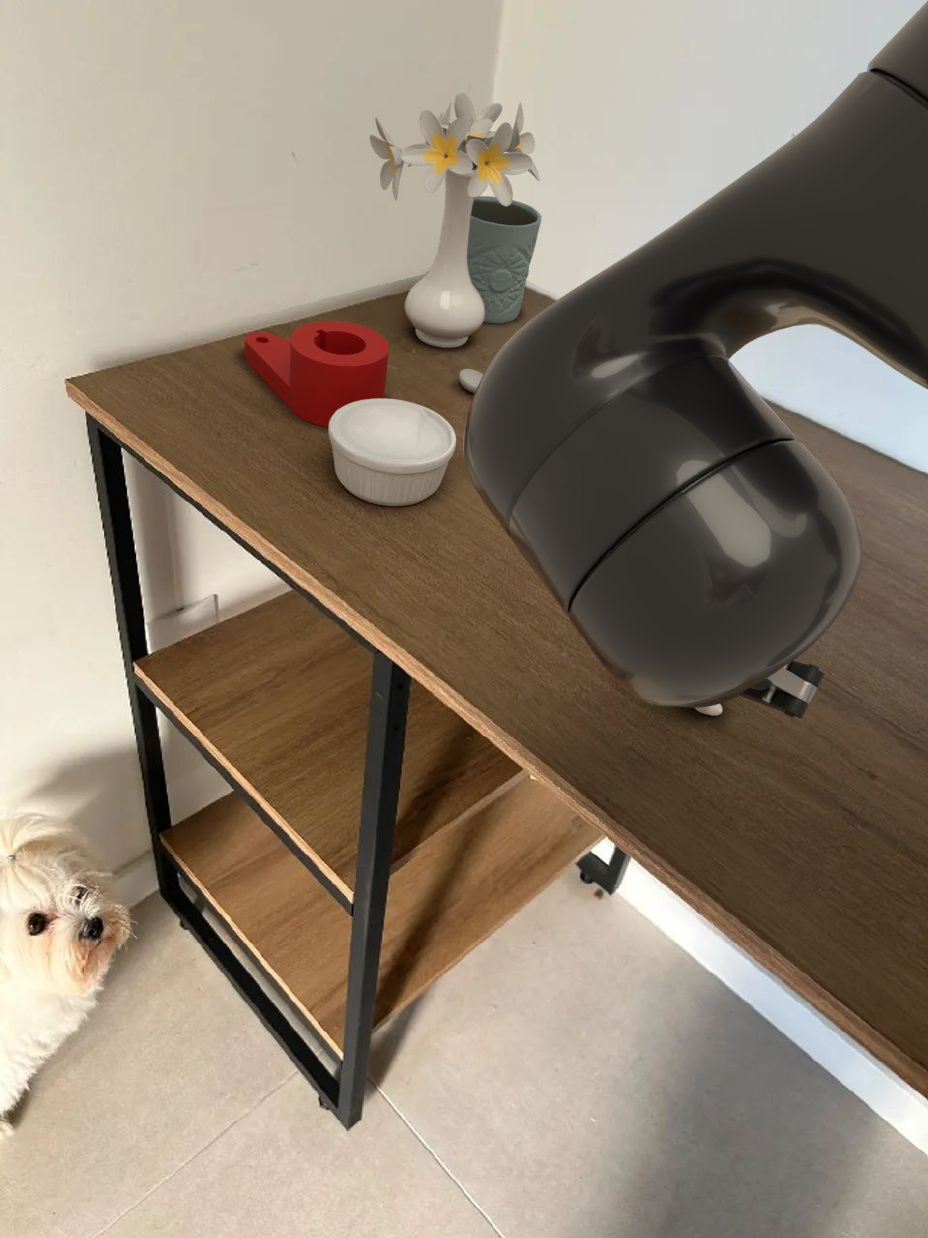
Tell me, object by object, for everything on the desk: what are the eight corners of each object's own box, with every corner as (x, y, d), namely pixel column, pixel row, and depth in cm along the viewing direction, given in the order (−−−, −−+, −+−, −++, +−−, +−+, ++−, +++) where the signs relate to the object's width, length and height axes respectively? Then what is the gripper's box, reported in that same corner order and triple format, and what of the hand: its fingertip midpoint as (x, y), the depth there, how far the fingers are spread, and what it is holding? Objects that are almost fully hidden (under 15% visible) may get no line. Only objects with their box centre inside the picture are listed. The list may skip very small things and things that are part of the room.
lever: (402, 410, 95) (408, 349, 91) (334, 438, 89) (337, 375, 85) (285, 341, 103) (286, 282, 98) (215, 363, 97) (213, 301, 92)
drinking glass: (499, 333, 112) (516, 232, 104) (428, 305, 115) (440, 205, 107) (537, 309, 119) (556, 212, 111) (470, 283, 122) (484, 188, 114)
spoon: (473, 377, 102) (476, 360, 101) (537, 437, 96) (542, 421, 95) (451, 381, 101) (454, 365, 99) (515, 443, 95) (519, 426, 93)
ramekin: (471, 501, 85) (480, 451, 81) (360, 526, 79) (364, 474, 76) (412, 438, 91) (418, 389, 88) (307, 457, 86) (308, 407, 83)
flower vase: (341, 325, 108) (355, 83, 91) (471, 306, 117) (505, 83, 100) (399, 376, 100) (425, 124, 84) (533, 352, 109) (580, 119, 93)
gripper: (883, 599, 37) (839, 655, 53) (589, 471, 41) (632, 560, 58) (796, 767, 37) (779, 771, 53) (511, 621, 41) (576, 667, 58)
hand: (702, 661), depth 55 cm, fingers closed
